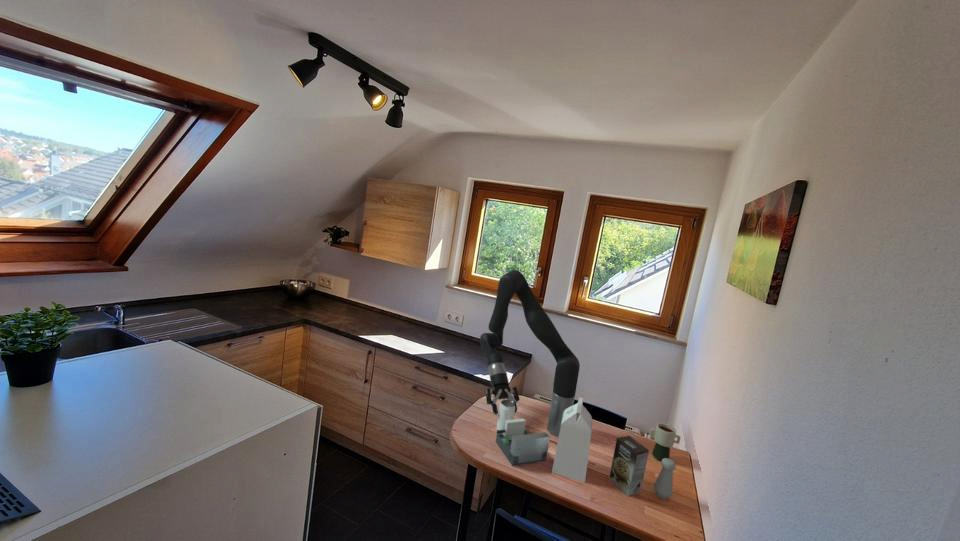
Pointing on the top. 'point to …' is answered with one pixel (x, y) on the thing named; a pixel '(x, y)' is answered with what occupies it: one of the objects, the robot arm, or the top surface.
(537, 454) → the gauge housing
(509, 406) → the can
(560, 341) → the robot arm
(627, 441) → the coffee box
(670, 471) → the salt shaker
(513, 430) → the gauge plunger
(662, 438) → the character mug
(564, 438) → the milk
